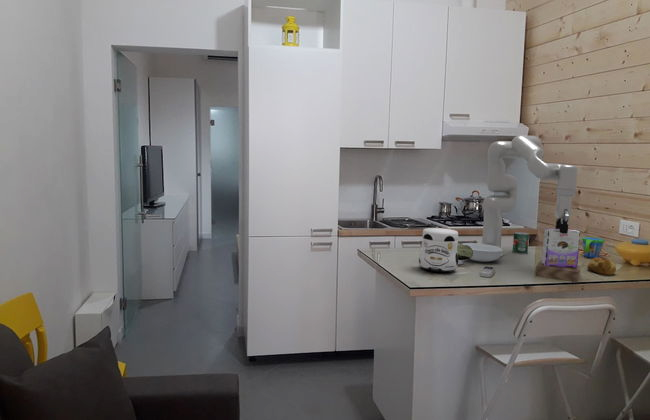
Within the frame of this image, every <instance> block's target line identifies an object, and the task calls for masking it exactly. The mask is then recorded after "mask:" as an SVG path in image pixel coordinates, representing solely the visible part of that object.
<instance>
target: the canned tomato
mask: <svg viewBox="0 0 650 420" xmlns="http://www.w3.org/2000/svg"><path fill="white" fill-rule="evenodd" d="M529 240H530V232H525V231H514V232H513V240H512V252H511V253H513V254H516V253H517V254H519V255H528V251H529Z"/></svg>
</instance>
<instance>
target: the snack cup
mask: <svg viewBox="0 0 650 420" xmlns="http://www.w3.org/2000/svg"><path fill="white" fill-rule="evenodd" d="M581 240H582V248H583V249H582V250H583V251H582V252H583V256H584V257H586V258H590V259H591V258H592V259H593V258H597V257H599V258H600V257H601V252H602V249H603V245H604V243H605V239H603V238H600V237H599V238H598V237H591V236H585V237H584V236H583V237H582V238H581Z"/></svg>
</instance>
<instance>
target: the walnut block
mask: <svg viewBox="0 0 650 420" xmlns="http://www.w3.org/2000/svg"><path fill="white" fill-rule="evenodd" d="M534 275H535V276H536V277H542V278H549V279H556V280H562V281H569V282H575V283H578V281H579V279H580V276H581V265H577V268H572V267H554V266H544V265H543V264H542V260H539V262H538V263H537V264H536V266H535V274H534Z"/></svg>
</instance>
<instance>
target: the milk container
mask: <svg viewBox="0 0 650 420" xmlns="http://www.w3.org/2000/svg"><path fill="white" fill-rule="evenodd" d="M422 230H423V231H422V240H421V250H420V253H419V256H418V263H419V267H421V268H422V269H423V270H425V271H429V272H435V273H451V272H454V271H456V270H457V268H458V265H459V256H458V255H459V254H458V246H459V241H458V240H459V232H458V231H457V230H454V229H450V228H442V227H441V228H440V227H429V228H428V227H426V228H423V229H422Z"/></svg>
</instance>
